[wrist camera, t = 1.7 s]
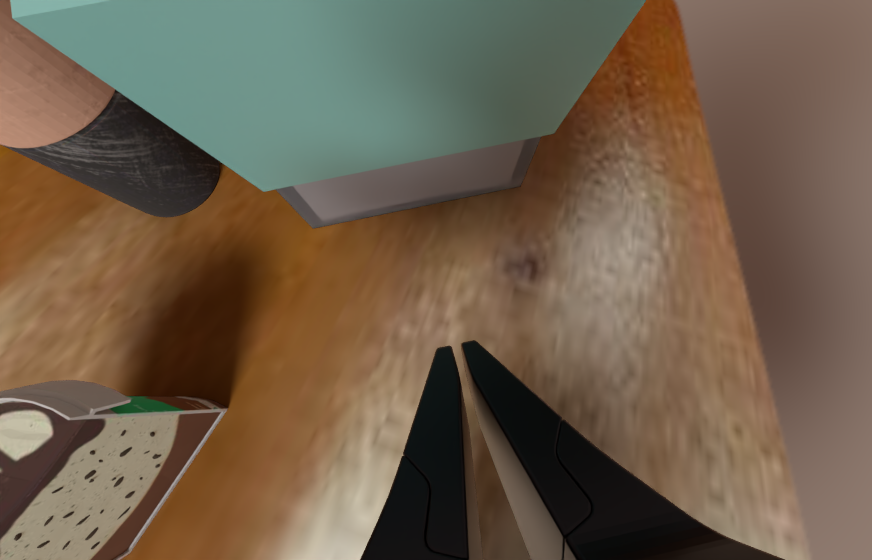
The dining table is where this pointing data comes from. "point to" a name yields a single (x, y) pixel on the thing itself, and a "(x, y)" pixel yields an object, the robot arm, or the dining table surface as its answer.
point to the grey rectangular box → (412, 184)
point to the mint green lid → (339, 73)
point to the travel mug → (94, 129)
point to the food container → (90, 466)
